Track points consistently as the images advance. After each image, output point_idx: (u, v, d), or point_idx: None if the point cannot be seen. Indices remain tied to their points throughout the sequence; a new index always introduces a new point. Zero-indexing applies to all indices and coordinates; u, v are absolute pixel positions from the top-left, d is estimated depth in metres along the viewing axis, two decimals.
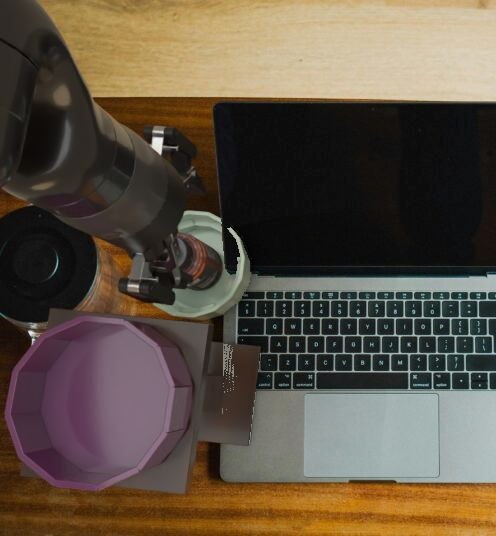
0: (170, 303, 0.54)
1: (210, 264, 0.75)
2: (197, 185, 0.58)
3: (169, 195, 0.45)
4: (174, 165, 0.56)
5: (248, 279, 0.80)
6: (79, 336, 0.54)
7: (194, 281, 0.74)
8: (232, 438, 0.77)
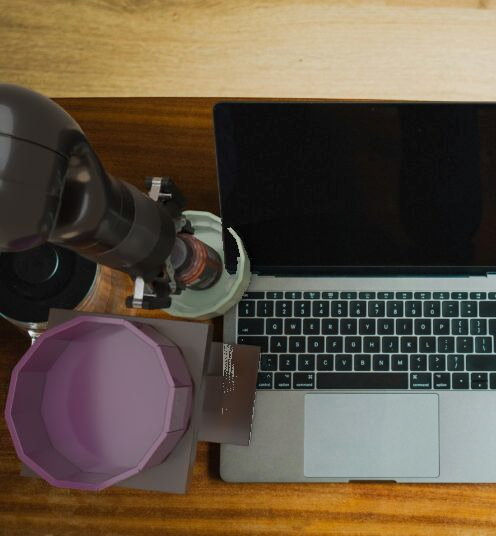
0: (167, 307, 0.68)
1: (210, 264, 0.75)
2: (187, 228, 0.72)
3: (162, 233, 0.58)
4: (168, 213, 0.70)
5: (248, 279, 0.80)
6: (79, 336, 0.54)
7: (194, 281, 0.74)
8: (232, 438, 0.77)
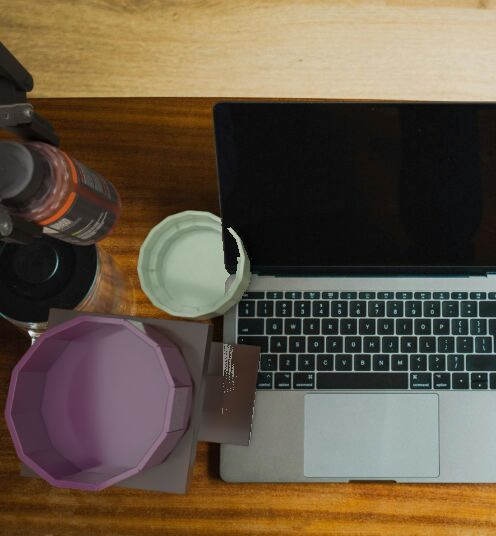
0: None
1: (89, 198, 0.46)
2: (38, 131, 0.42)
3: None
4: None
5: (248, 279, 0.80)
6: (79, 336, 0.54)
7: (60, 223, 0.45)
8: (232, 438, 0.77)
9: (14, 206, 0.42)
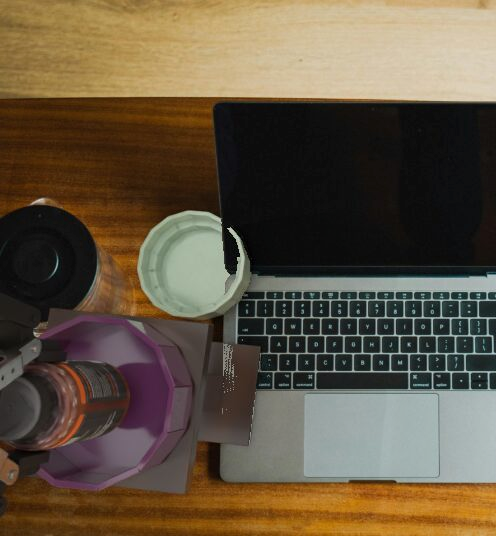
0: None
1: (97, 410, 0.44)
2: (45, 359, 0.40)
3: None
4: (4, 339, 0.38)
5: (248, 279, 0.80)
6: (79, 336, 0.54)
7: (67, 442, 0.43)
8: (232, 438, 0.77)
9: (20, 439, 0.40)
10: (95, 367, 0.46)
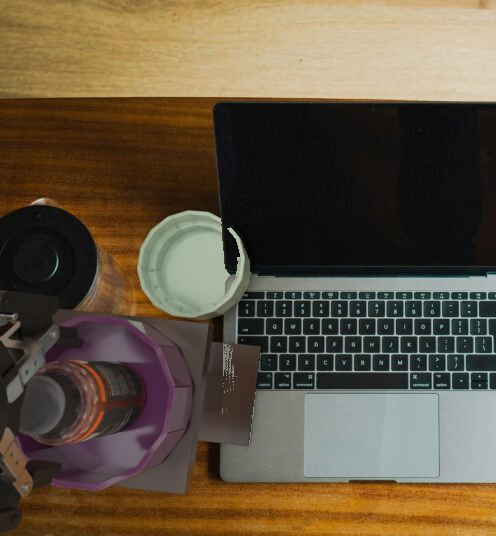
0: (11, 528, 0.38)
1: (116, 407, 0.47)
2: (63, 345, 0.42)
3: None
4: (25, 325, 0.40)
5: (248, 279, 0.80)
6: (79, 336, 0.54)
7: (88, 437, 0.46)
8: (232, 438, 0.77)
9: (45, 434, 0.43)
10: (113, 367, 0.49)
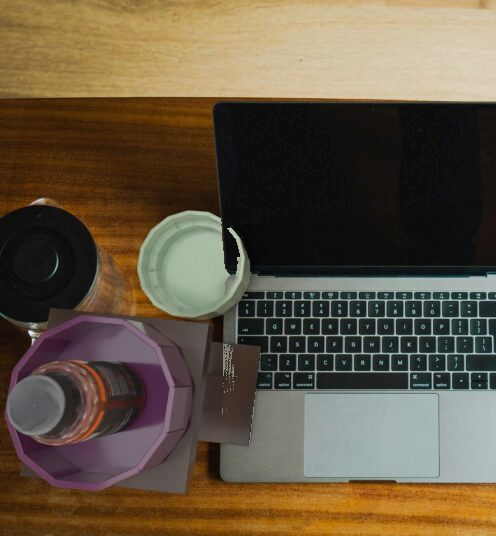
0: None
1: (116, 407, 0.47)
2: None
3: None
4: None
5: (248, 279, 0.80)
6: (79, 336, 0.54)
7: (88, 437, 0.46)
8: (232, 438, 0.77)
9: (45, 434, 0.43)
10: (113, 367, 0.49)
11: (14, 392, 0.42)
